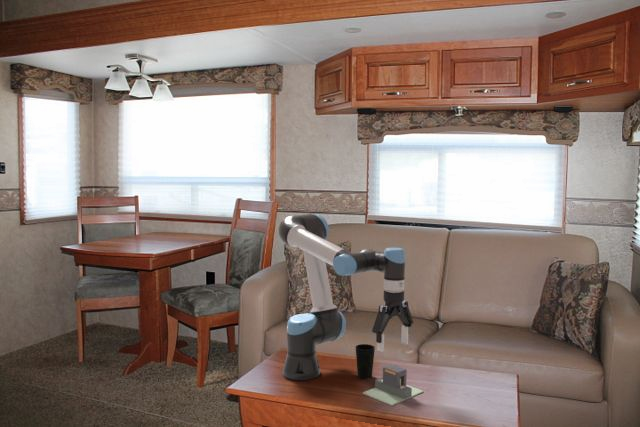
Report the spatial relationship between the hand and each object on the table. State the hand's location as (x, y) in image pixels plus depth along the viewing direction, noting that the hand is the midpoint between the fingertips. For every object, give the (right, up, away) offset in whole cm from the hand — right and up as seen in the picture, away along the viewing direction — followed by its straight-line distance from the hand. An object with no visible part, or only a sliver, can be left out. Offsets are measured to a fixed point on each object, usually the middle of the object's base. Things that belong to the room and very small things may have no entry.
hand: (392, 347), depth 200 cm
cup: (-9, -16, +17) cm, 25 cm away
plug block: (+1, -14, 0) cm, 14 cm away
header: (0, -17, +1) cm, 17 cm away
